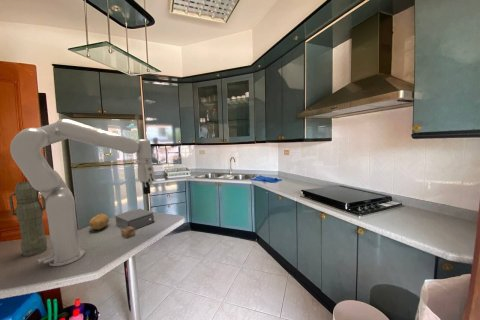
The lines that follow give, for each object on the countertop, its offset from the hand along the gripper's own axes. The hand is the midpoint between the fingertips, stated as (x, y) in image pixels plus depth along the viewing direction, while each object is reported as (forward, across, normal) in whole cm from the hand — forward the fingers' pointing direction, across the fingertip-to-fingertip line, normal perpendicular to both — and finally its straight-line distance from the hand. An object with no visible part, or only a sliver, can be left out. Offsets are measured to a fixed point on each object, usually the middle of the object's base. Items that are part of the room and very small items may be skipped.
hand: (147, 193), depth 116 cm
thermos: (+23, +30, +43) cm, 57 cm away
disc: (+21, +19, -2) cm, 28 cm away
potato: (+23, +33, +14) cm, 43 cm away
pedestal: (+23, +7, +9) cm, 26 cm away
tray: (+23, +19, -2) cm, 30 cm away
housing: (+23, +21, -2) cm, 31 cm away
